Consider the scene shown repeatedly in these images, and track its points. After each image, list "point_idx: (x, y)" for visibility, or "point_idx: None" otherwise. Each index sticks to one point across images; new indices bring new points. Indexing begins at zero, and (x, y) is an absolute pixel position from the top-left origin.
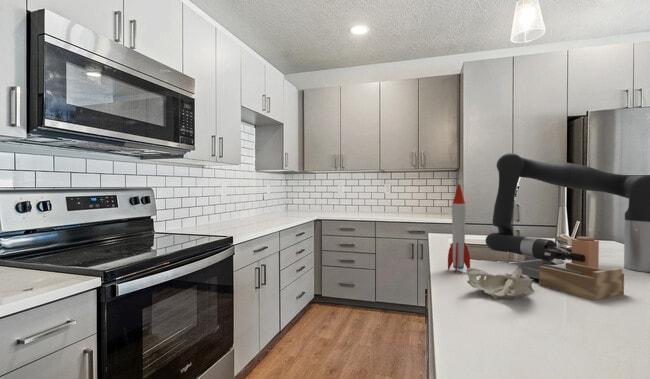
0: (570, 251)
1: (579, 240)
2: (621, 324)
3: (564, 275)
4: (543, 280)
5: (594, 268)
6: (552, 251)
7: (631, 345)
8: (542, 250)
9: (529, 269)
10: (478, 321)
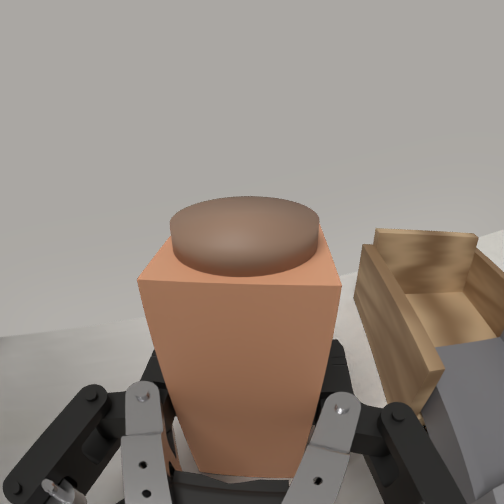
0: (79, 498)
1: (326, 245)
2: (480, 250)
3: None
4: None
5: (395, 286)
6: (448, 477)
7: (497, 237)
8: None
9: None
10: None
